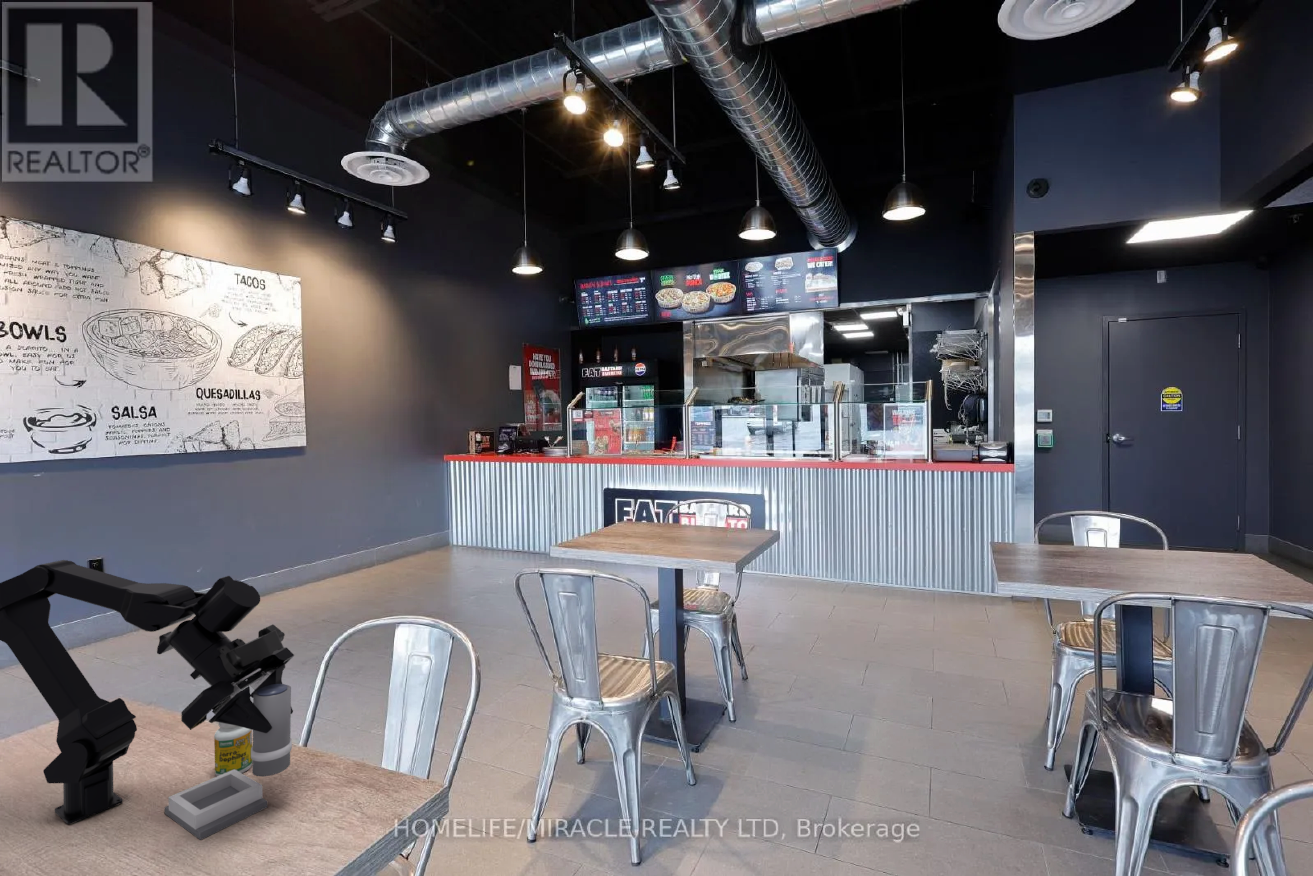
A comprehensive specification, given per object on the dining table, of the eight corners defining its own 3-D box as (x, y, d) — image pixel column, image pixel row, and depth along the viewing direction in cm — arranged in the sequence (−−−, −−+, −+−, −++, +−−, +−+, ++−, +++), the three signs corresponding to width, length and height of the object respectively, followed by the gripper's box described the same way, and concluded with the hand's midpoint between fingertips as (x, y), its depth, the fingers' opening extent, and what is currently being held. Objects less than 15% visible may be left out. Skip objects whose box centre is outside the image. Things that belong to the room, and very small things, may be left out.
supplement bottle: (252, 758, 109) (251, 705, 109) (252, 772, 105) (251, 716, 105) (215, 768, 106) (214, 713, 106) (213, 782, 102) (213, 725, 102)
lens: (243, 770, 94) (244, 691, 94) (280, 755, 99) (281, 679, 99) (261, 781, 91) (262, 699, 91) (298, 765, 96) (299, 687, 96)
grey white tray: (164, 813, 93) (164, 794, 93) (230, 784, 101) (229, 766, 101) (200, 840, 87) (200, 819, 87) (267, 807, 95) (267, 788, 95)
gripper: (202, 634, 86) (280, 713, 86) (283, 599, 104) (347, 664, 104) (146, 690, 86) (224, 769, 86) (236, 645, 104) (300, 709, 104)
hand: (280, 722), depth 95 cm, fingers closed on lens, 5 cm apart
